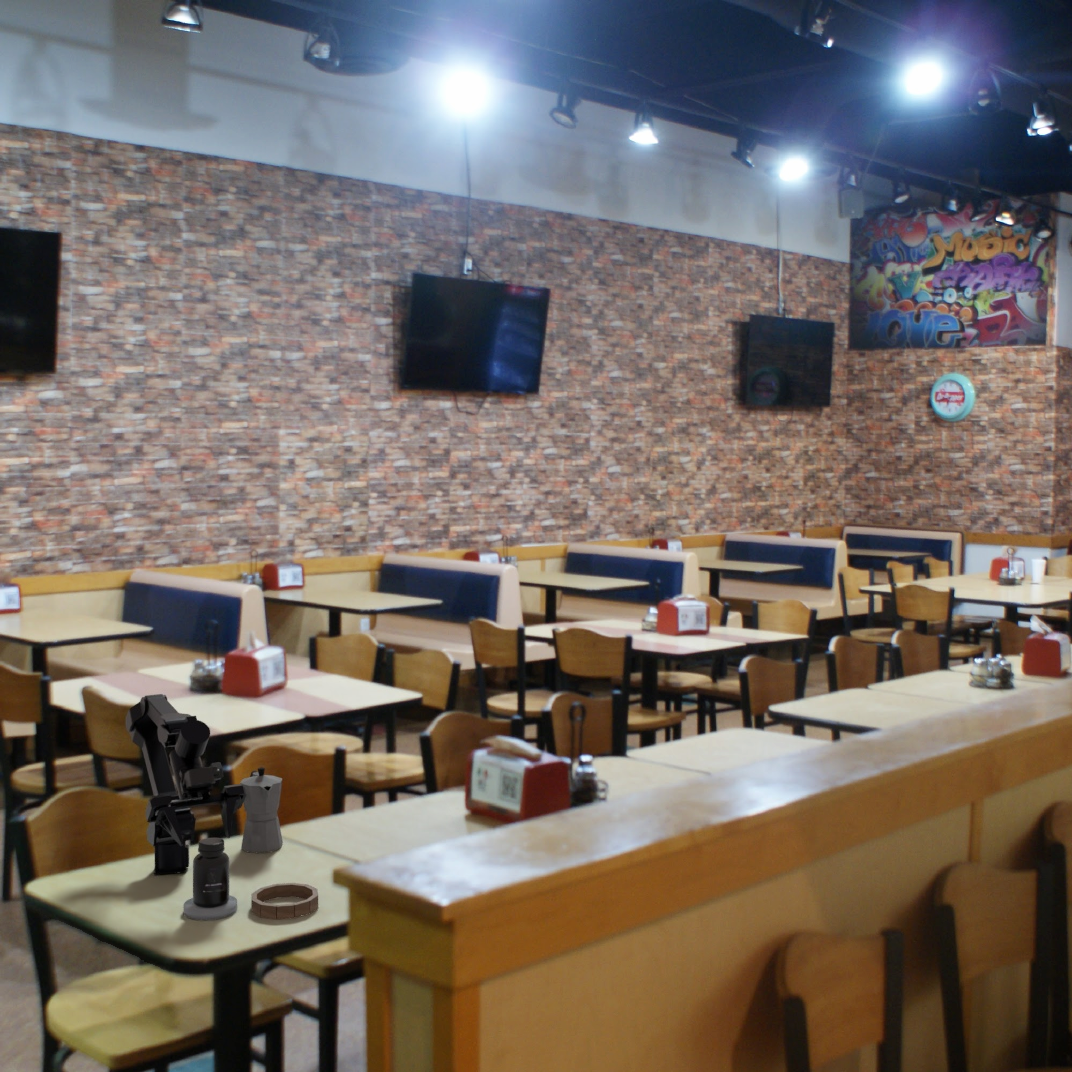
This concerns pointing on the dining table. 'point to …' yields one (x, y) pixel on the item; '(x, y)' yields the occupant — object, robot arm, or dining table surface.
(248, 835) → the coffeepot
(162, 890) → the dining table surface
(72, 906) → the dining table surface
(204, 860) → the supplement bottle
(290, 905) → the ring holder
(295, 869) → the dining table surface
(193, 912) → the coaster
